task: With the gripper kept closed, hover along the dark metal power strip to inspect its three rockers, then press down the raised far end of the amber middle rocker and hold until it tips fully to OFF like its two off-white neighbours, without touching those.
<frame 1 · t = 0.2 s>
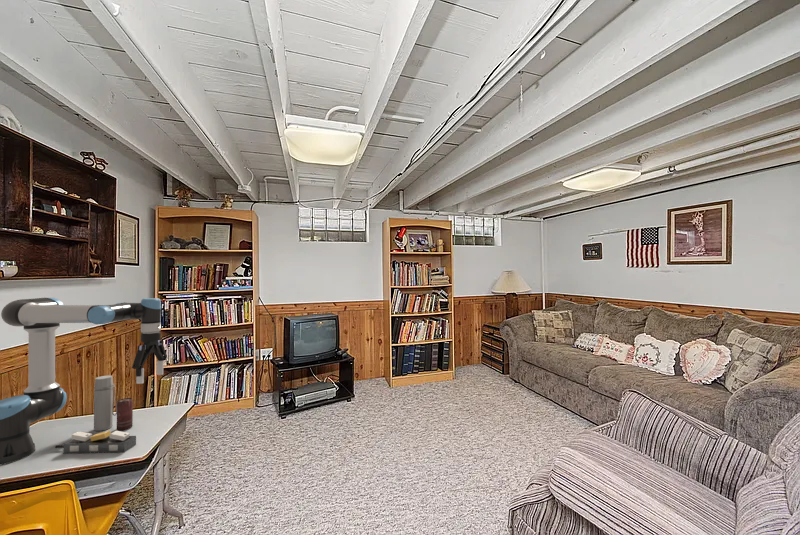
hand: (150, 378, 162), 28 cm above the table, fingers open, 13 cm apart
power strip: (100, 449, 153), on the table
rocker far: (119, 435, 154), point 6 cm above the table, hinge at 12.0°
rocker near: (81, 436, 153), point 6 cm above the table, hinge at 12.0°
water bottle: (105, 428, 175), on the table
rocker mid: (100, 435, 153), point 6 cm above the table, hinge at -12.0°
can: (124, 428, 174), on the table
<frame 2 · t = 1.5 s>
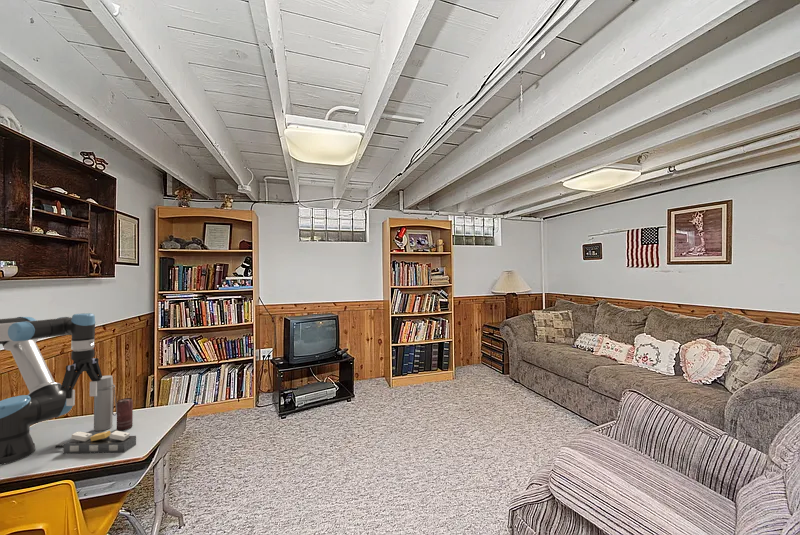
hand: (82, 400, 153), 21 cm above the table, fingers open, 11 cm apart
nothing on the table moved.
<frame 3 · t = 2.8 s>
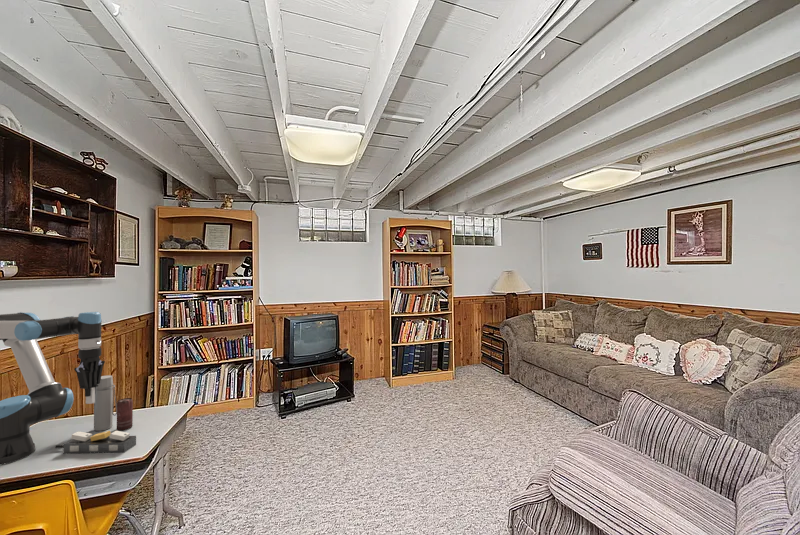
hand: (90, 403, 153), 20 cm above the table, fingers closed
nothing on the table moved.
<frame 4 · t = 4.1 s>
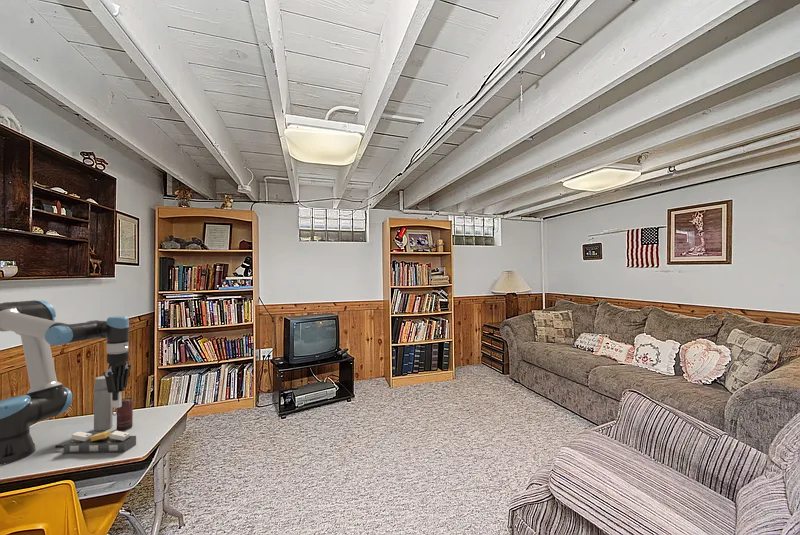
hand: (117, 407, 154), 18 cm above the table, fingers closed
nothing on the table moved.
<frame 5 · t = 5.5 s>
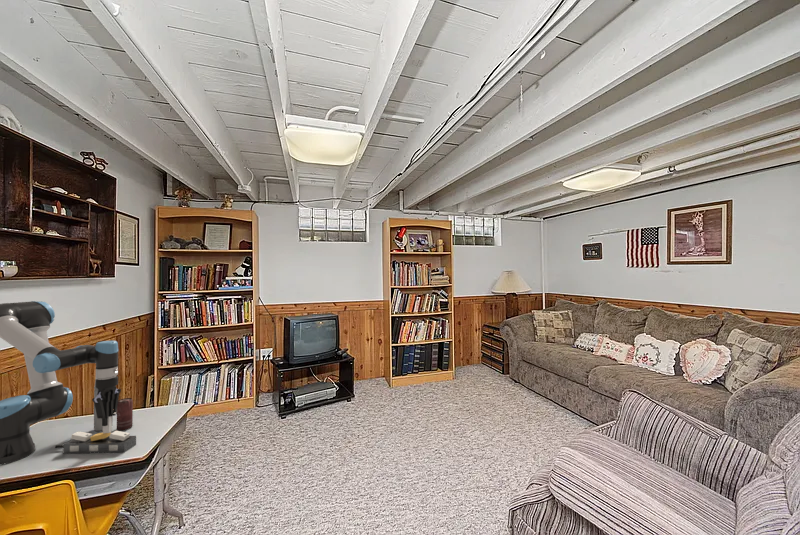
hand: (107, 432, 153), 7 cm above the table, fingers closed
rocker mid: (100, 435, 153), point 6 cm above the table, hinge at -11.3°, touching gripper
everything else where it was.
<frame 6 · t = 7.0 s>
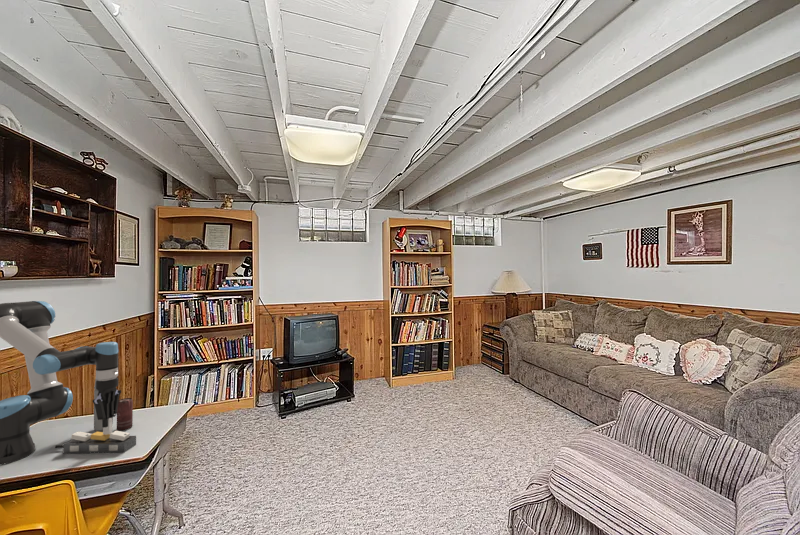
hand: (107, 433, 153), 7 cm above the table, fingers closed
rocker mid: (100, 435, 153), point 6 cm above the table, hinge at 7.6°, touching gripper
everything else where it was.
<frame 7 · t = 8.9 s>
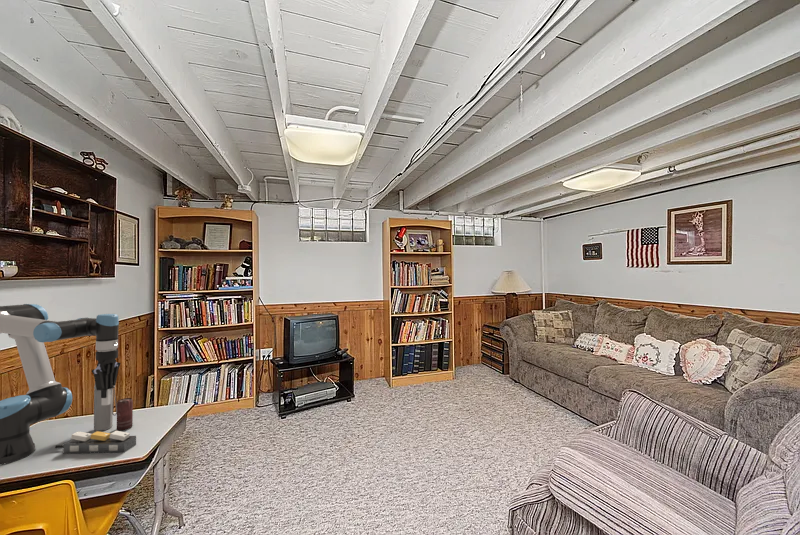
hand: (105, 404, 154), 19 cm above the table, fingers closed
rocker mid: (100, 435, 153), point 6 cm above the table, hinge at 10.0°
everything else where it was.
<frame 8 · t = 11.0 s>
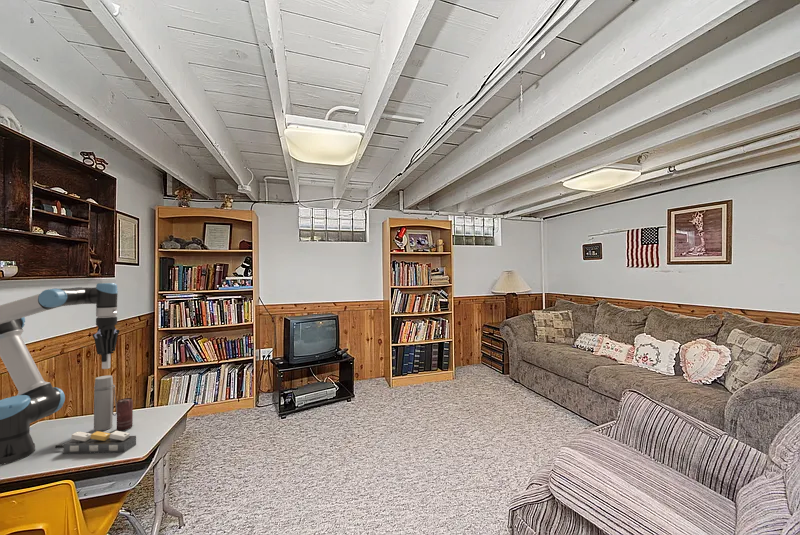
hand: (106, 368, 163), 32 cm above the table, fingers closed
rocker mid: (100, 435, 153), point 6 cm above the table, hinge at 10.7°
everything else where it was.
at the end: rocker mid at +11° (first picture: -12°); rocker near at +12° (first picture: +12°); rocker far at +12° (first picture: +12°) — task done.
